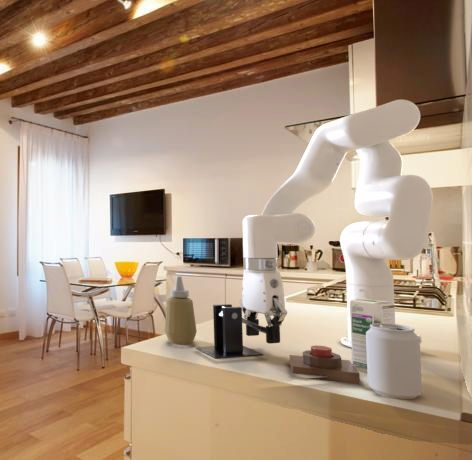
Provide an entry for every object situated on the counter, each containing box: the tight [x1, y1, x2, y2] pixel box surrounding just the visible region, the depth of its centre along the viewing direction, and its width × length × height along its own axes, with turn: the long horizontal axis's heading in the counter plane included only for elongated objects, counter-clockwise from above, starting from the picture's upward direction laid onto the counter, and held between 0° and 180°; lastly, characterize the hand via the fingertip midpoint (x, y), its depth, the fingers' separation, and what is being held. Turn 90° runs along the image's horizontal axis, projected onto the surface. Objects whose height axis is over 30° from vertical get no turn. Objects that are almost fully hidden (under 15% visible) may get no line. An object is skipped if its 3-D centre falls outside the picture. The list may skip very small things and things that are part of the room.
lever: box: [218, 306, 266, 335], centre depth 99 cm, size 12×5×2 cm, turn 98°
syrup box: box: [350, 299, 396, 369], centre depth 86 cm, size 6×6×14 cm
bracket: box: [195, 303, 264, 360], centre depth 99 cm, size 12×9×12 cm
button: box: [310, 345, 333, 358], centre depth 84 cm, size 4×4×2 cm
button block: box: [288, 349, 361, 385], centre depth 84 cm, size 11×9×4 cm
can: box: [366, 323, 423, 400], centre depth 74 cm, size 8×8×12 cm
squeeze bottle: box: [164, 276, 197, 345], centre depth 109 cm, size 8×8×18 cm
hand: (262, 338), depth 100 cm, fingers open, 6 cm apart
